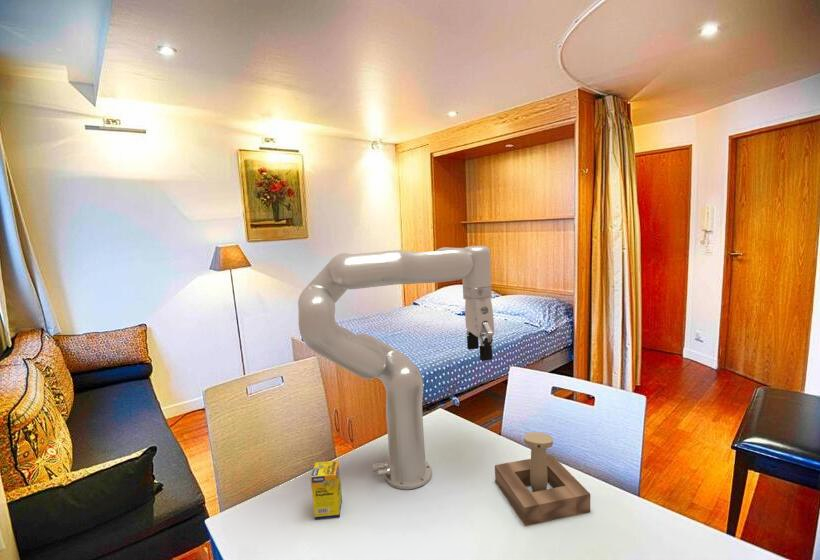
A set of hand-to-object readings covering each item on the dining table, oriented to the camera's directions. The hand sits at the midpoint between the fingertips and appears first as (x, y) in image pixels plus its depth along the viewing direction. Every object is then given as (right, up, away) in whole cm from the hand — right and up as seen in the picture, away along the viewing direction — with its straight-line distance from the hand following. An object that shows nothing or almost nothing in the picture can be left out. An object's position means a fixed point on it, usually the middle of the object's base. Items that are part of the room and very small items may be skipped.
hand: (479, 354), depth 110 cm
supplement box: (-38, -35, -13) cm, 54 cm away
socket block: (+12, -32, -13) cm, 36 cm away
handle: (+12, -32, -13) cm, 37 cm away
